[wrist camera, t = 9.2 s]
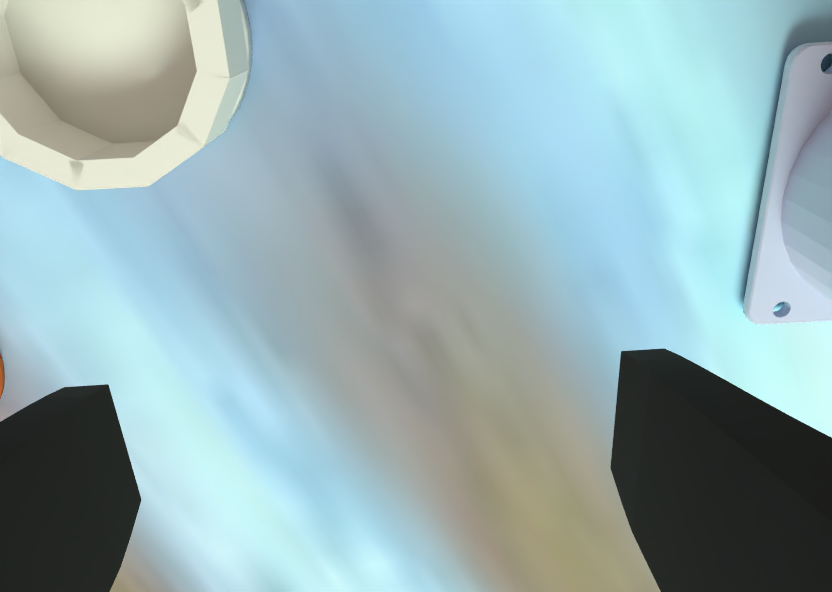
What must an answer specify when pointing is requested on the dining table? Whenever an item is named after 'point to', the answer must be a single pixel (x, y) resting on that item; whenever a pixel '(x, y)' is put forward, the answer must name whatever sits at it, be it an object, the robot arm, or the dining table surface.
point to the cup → (118, 85)
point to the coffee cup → (1, 376)
